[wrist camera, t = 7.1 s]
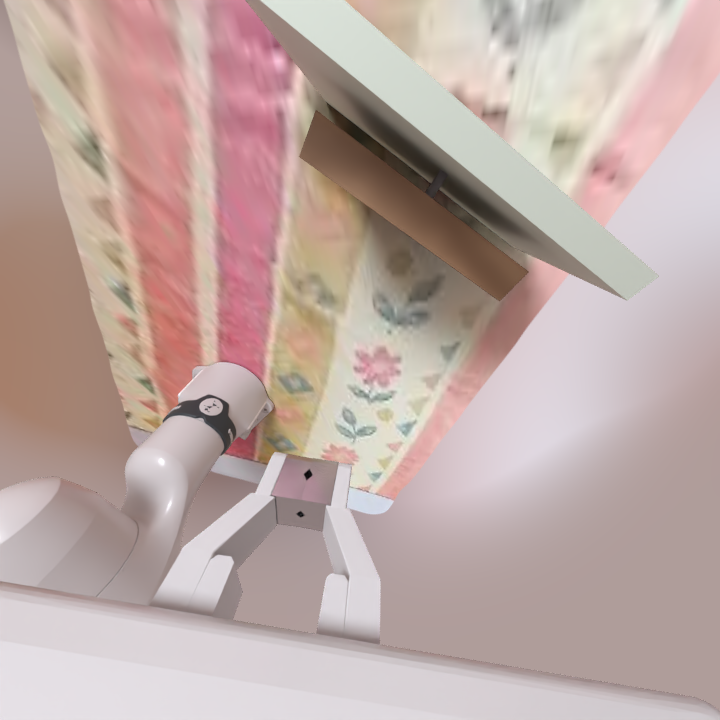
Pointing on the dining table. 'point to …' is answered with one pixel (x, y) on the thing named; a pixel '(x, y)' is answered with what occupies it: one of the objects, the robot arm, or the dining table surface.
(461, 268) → the wooden picture frame
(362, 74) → the wall panel
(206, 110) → the dining table surface
